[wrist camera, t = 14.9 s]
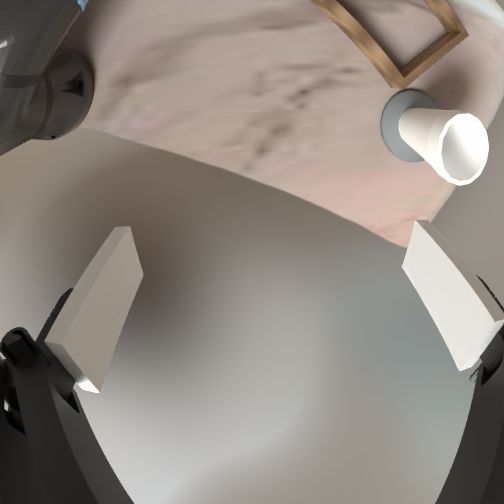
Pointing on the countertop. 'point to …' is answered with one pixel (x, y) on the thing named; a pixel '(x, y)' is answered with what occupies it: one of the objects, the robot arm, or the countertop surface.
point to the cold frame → (377, 55)
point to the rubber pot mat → (391, 122)
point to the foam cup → (447, 141)
